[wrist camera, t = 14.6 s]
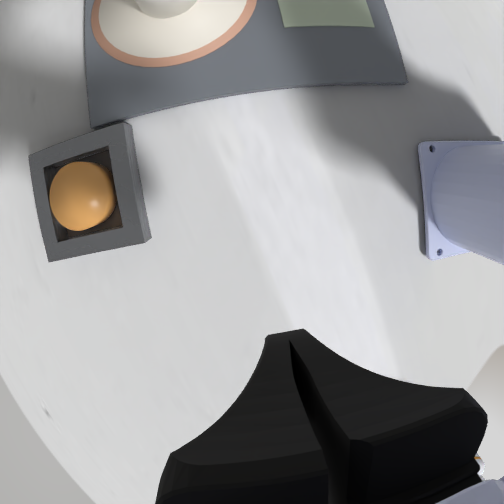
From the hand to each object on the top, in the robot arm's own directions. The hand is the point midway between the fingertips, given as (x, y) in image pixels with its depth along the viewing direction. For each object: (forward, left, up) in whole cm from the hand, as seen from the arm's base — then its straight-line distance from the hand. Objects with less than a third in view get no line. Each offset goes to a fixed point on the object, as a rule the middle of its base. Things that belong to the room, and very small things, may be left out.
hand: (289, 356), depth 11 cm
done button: (+10, -7, -9) cm, 15 cm away
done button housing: (+10, -7, -9) cm, 15 cm away
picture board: (-1, -18, -9) cm, 20 cm away
